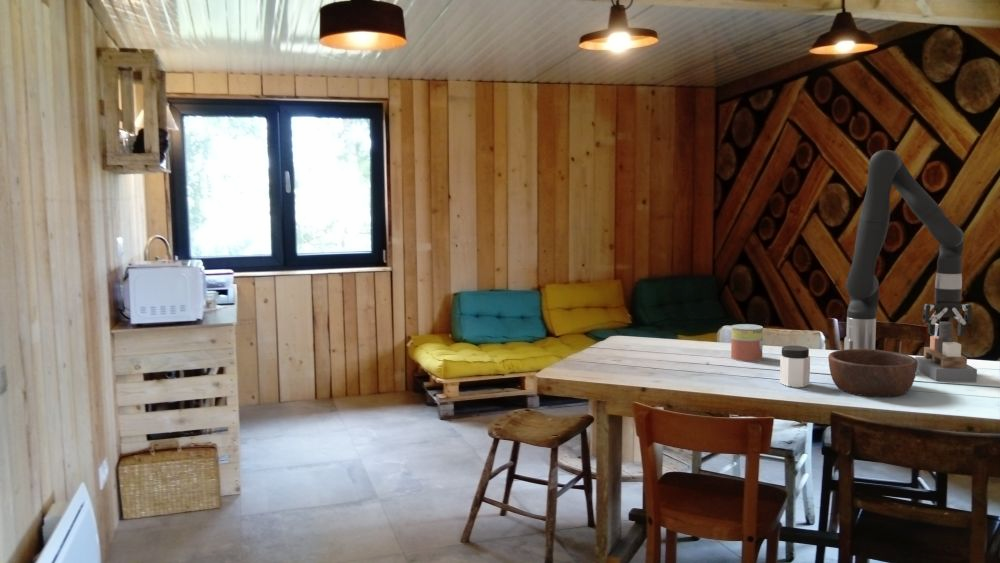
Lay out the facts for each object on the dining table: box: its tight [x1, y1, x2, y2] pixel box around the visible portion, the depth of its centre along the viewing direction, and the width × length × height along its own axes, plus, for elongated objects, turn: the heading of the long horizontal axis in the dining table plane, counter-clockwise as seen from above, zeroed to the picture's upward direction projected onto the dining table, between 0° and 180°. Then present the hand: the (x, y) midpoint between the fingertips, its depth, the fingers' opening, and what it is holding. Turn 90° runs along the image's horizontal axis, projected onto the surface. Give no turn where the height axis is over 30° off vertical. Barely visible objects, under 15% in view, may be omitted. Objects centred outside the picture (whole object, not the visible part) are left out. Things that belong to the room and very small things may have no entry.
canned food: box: [730, 323, 764, 363], centre depth 282 cm, size 11×11×12 cm
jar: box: [779, 345, 811, 388], centre depth 243 cm, size 9×8×12 cm
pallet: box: [923, 321, 968, 369], centre depth 250 cm, size 7×16×14 cm, turn 171°
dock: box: [914, 356, 978, 383], centre depth 251 cm, size 12×18×4 cm, turn 171°
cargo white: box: [942, 341, 962, 357], centre depth 245 cm, size 4×4×4 cm
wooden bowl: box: [827, 349, 918, 398], centre depth 236 cm, size 25×25×10 cm
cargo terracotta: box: [929, 335, 939, 350], centre depth 255 cm, size 4×4×4 cm
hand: (946, 335), depth 249 cm, fingers open, 8 cm apart
